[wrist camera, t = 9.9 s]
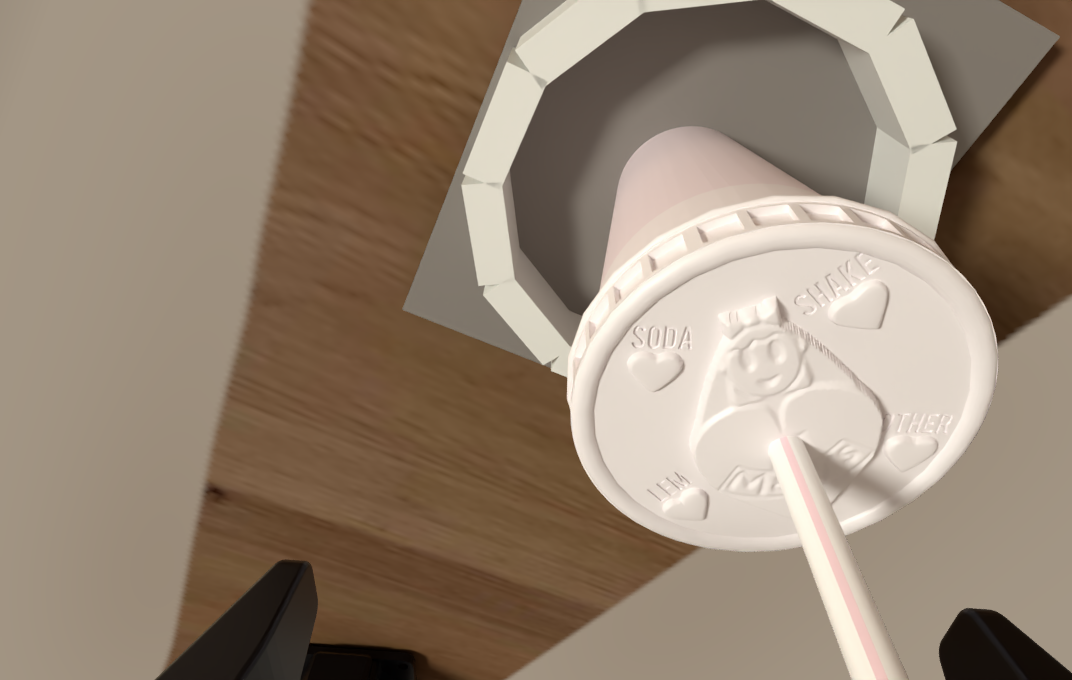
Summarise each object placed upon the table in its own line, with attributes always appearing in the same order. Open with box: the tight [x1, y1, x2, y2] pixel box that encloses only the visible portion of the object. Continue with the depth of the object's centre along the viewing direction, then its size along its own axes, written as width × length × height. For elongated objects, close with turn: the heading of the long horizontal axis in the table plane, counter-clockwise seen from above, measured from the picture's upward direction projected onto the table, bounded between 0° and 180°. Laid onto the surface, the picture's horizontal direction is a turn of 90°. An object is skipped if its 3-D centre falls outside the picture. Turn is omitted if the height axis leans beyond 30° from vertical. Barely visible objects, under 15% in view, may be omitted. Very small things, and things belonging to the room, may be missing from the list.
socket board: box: [402, 0, 1060, 377], centre depth 18 cm, size 14×12×3 cm
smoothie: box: [567, 126, 998, 680], centre depth 12 cm, size 6×6×14 cm
